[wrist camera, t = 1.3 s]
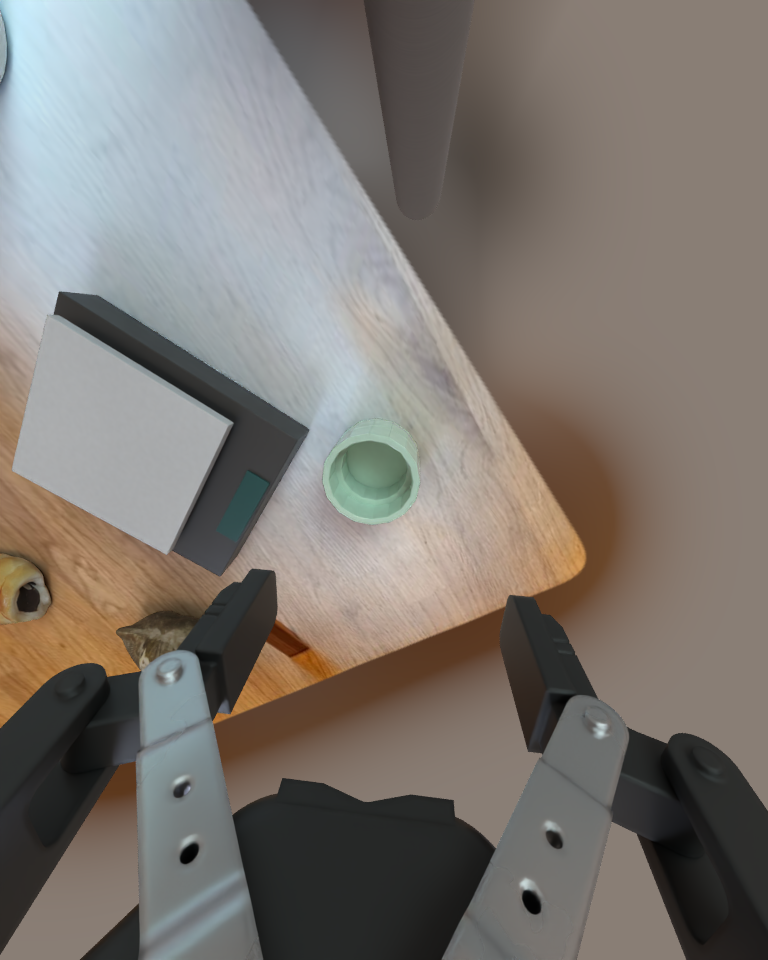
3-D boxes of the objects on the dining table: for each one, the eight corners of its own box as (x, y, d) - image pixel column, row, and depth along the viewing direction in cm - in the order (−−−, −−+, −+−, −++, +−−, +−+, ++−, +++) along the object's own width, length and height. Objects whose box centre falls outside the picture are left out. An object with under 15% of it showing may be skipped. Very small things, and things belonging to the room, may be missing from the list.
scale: (97, 295, 25) (33, 288, 21) (309, 429, 28) (290, 447, 24) (53, 453, 31) (-5, 473, 26) (236, 556, 33) (209, 589, 29)
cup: (364, 400, 27) (354, 414, 22) (435, 447, 28) (439, 470, 23) (322, 467, 29) (305, 492, 24) (389, 509, 30) (385, 540, 25)
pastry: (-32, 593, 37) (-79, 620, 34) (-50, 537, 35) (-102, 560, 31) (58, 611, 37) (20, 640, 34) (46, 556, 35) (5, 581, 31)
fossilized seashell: (240, 638, 33) (148, 580, 34) (184, 716, 29) (81, 649, 30) (243, 652, 39) (165, 602, 40) (197, 718, 35) (111, 662, 36)
